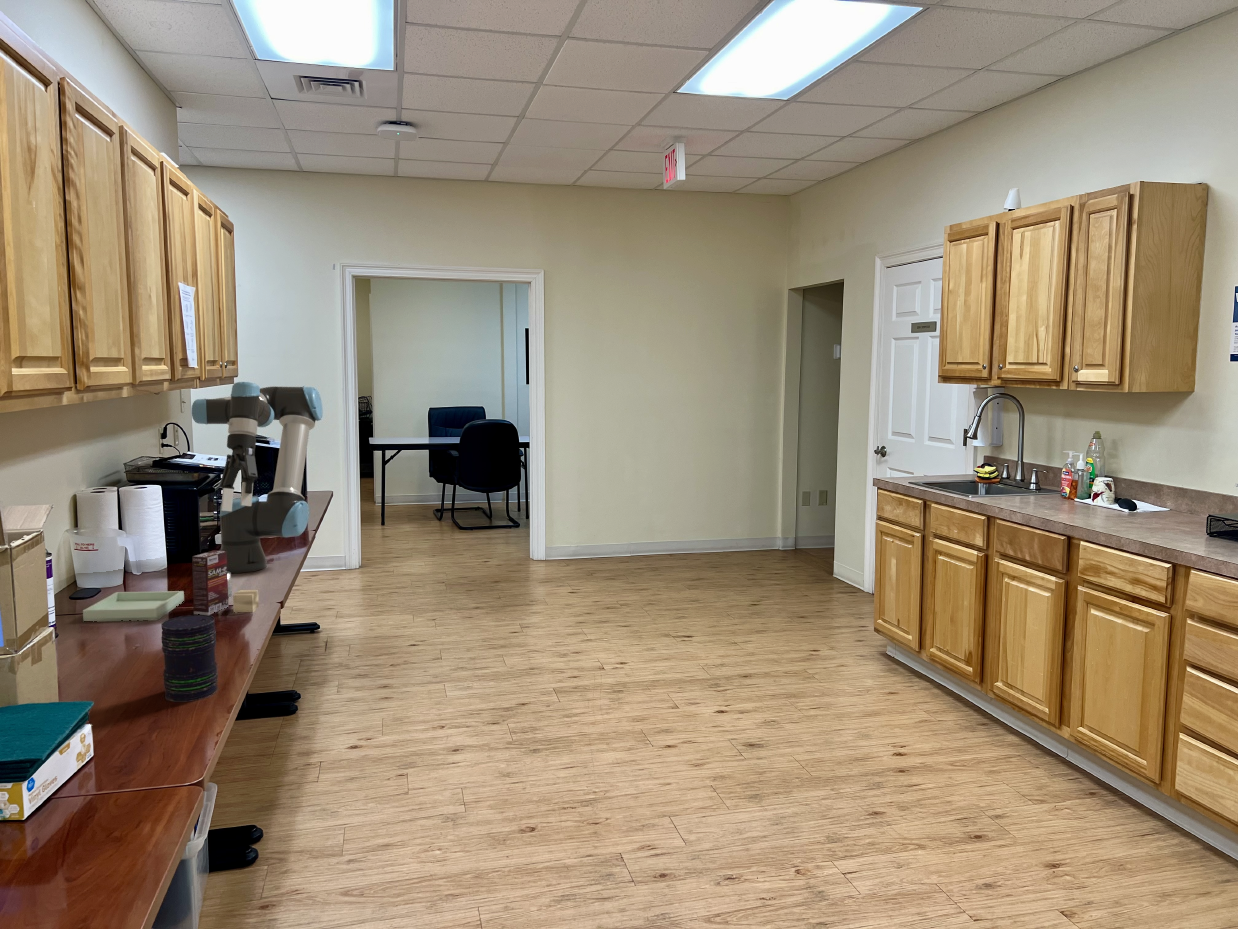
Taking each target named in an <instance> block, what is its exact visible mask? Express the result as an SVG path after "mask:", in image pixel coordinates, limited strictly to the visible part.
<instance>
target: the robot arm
mask: <svg viewBox="0 0 1238 929" xmlns="http://www.w3.org/2000/svg"><path fill="white" fill-rule="evenodd" d="M323 411H324V410H323V401H322V398H321V394H320V392H319V390H318V389H317V388H316V387H311V386H305V385H304V386H267V387H260V386H259V385H258V384H257V383H253V382H249V381H238V382H235V383H233V384H232V387H231V392H230V396H225V397H224V396H223V397H218V398H199V399H195V400H194V401H193V402H192V405H191V417H192V420H193V421H194V422H195V424H199V425H200V424H201V425H228V430H227V432H228V435H227V438H226V439H227V441H226V447H227V448H228V449H230V450H231V451H232V452H231V454H227V455H226V460H225V465H224V469H223V473H222V477H221V480H220V483H219V487H220V488H222V495H221V496H222V498H221V504H220V507H219V508H220V509H219V511H220V512H219V519H220V520H219V521H220V522H219V523H220V539H221V541H220V542H221V545H220V546H221V547H220V550H219V551H227V571H228V572H231V574H241V573H242V574H243V573H251V572H256V571H260V570H262V569H265V568H267V564H268V562H267V558H266V555H265V552H264V550H263V547H262V544H261V538H263V537H265V538H272V537H273V538H277V537H278V538H279V537H280V538H290V537H291V538H292V537H299V536H301V535H302V534H303V533H304V532H305V530H306V529H307V526H308V522H309V518H310V517H309V516H310V513H309V511H310V507H309V504H308V502H306V501H305V499H306V498H305V497H304V496H303V494H302V486H303V479H304V471H305V470H304V469H305V465H306V456H307V451H308V450H307V449H308V442H309V435H310V431H311V430H313V429H314V428H315V427H316V421H317V422H318V421H321V420H322V418H323ZM273 421H278V422H279V424H280V425H281V426H282V429H281V438H280V444H279V450H278V457H277V463H276V470H275V475H274V483H273V489H272V491H269V492H268V493H267V495H266V496H267V497H266V501H265V500H264V501H263V500H261V501H260V499H259V496H255V495H254V496H253V490H254V483H255V481H256V480H258V470H257V464H256V456H255V455H256V447H257V446H256V444H257V438H256V436H257V433H258V428H266V427H268V426H270V425H271V424H272V423H273ZM239 471H241V474H242V478H241V479H242V480H241V482H242V483H241V496H240V497H237V498H234V490H235V487H234V485H235V482H236V479H237V477H238V475H239Z"/></svg>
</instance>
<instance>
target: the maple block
mask: <svg viewBox="0 0 1238 929" xmlns="http://www.w3.org/2000/svg"><path fill="white" fill-rule="evenodd" d="M232 602H233V606H232V608H233V613H234V612H253V613H254V612H256V611H257V610H258V609H259V608H258V607H259V606H260V604H259V590H258V589H252V590H248V589H246V590H245V589H244V590H243V589H241V590H238V591H236V592H235V593H234V594H232ZM257 608H258V609H257ZM256 609H257V610H256Z"/></svg>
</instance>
